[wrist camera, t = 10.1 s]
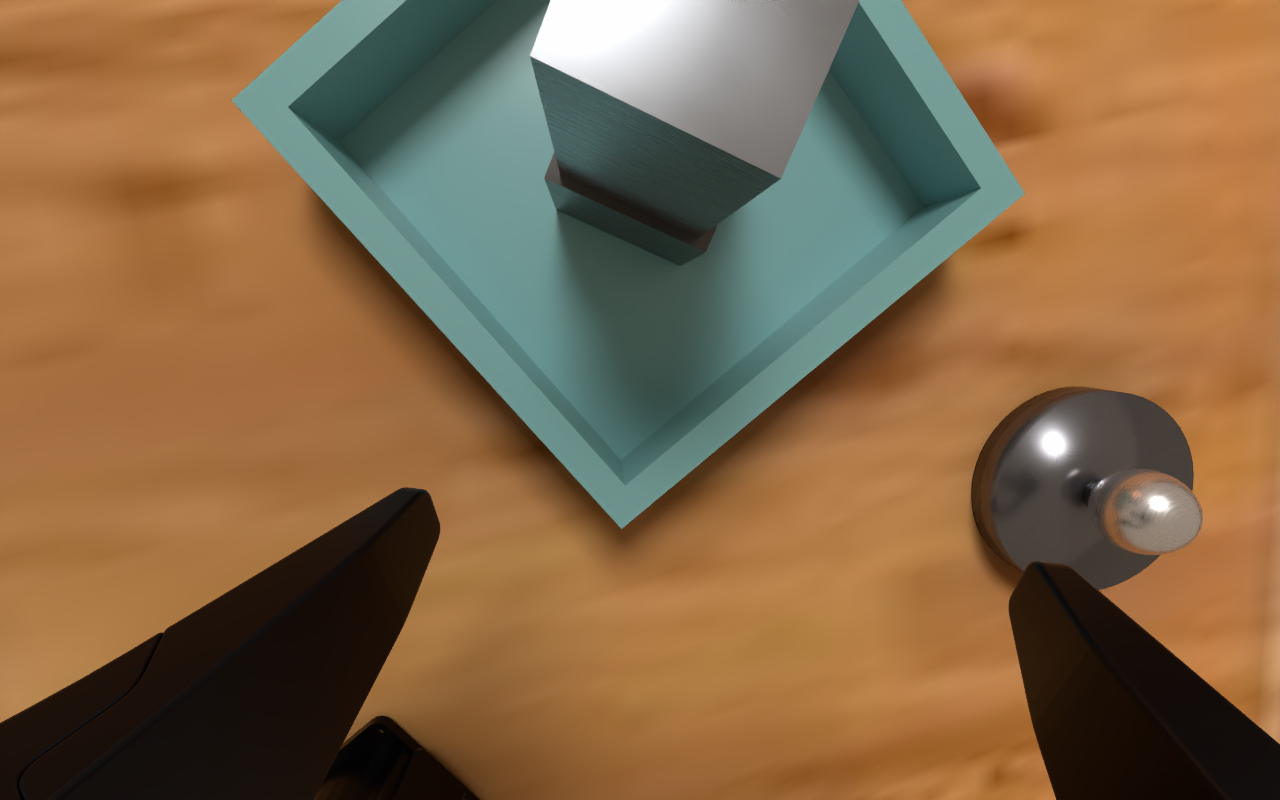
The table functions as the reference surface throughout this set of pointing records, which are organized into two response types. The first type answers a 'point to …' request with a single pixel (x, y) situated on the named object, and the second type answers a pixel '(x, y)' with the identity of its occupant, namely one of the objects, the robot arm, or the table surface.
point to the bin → (605, 265)
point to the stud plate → (1086, 484)
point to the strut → (677, 108)
